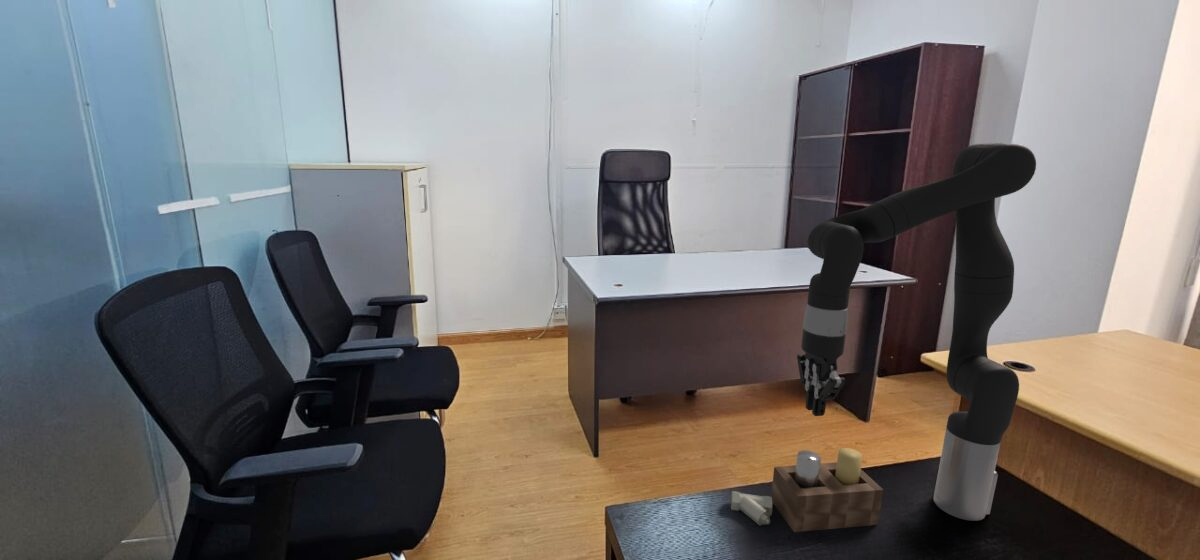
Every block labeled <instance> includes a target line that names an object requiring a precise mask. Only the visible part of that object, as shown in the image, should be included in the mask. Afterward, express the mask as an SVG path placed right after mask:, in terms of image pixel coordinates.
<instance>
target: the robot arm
mask: <svg viewBox="0 0 1200 560" xmlns="http://www.w3.org/2000/svg"><path fill="white" fill-rule="evenodd" d="M1036 169H1037V160H1036V156H1035V154H1034V153H1033V151H1032V149H1030V148H1028V146H1025V145H1024V144H1020V143H1015V142H995V143H992V142H990V143H989V142H988V143H975V144H971V145H968V146H966V147H965V148H963V149H962V150H961V151H960V153H959V154H958V155H957V157H956V159H955V161H954V164H953V168H952V175H951V176H949V177H946V178H943V179H940V180H937V181H934V182H930V183H926V184H922V185H919V186H915V187H911V188H908V189H905V190H902V191H899V192H896V193H894V194H891V195H889V196H887V197H884V198H883V199H880V200H878V201H875V202H874V203H872V204H870V205H868V206H866V207H864V208H862V209H858V210H855V211H850V212H847V213H844V214H840V215H837V216H835V217H831V218H829V219H825V220H824V221H822V222H820V223H818V224H817V225H816V226H815V227H814V228H813V229H811V231H810V232H809V234H808V237H807V247H808V249H809V251H810V253H812V254H813V255H814V256H816V257H817V258H819V259H821V260H823V261H822V265H821V268H820V272H819V273H815V274H813V275H812V276H811V278H810V281H809V286H808V293H807V302H806V307H805V311H804V318H803V327H802V328H803V329H802V334H801V335H802V336H801V344H800V345H801V346H800V348H801V350H802V352H804V354H797V356H796V359H797V366H798V372H799V379H800V383H801V385H804V389H805V391H806V398H805V405H804V406H805V409H806V410H808V411H812V412H811V413H812V415H813V416H814V417H822V416H824V415H825V413H826V406H827V401H828V400H836V398H837V396H838V394H840V392H841V389H843V386H845V384H846V379H845V378H844V377H843V376H841V377H840V376H839V374H838V372H837V371H838V363H837V361H838V359H839V358H840V357H842V356H843V354H844V352H845V343H846V337H847V327H848V320H849V318H848V308H849V301H850V300H849V299H850V292H851V291H850V290H851V287H852V283H853V281H854V279H855V277H856V274H857V272H858V269H859V267H860V264H861V262H862V260H863V259H862V258H863V254H864V248H865V245H864V244H867V243H873V244H874V243H875V244H876V243H882V242H884V241H887V240H890V239H892V238H894V237H896V236H899V235H901V234H903V233H905V232H907V231H911V229H914V228H916V227H919V226H921V225H923V224H925V223H928V222H929V221H932V220H935V219H937V218H939V217H942V216H945V215H948V214H950V213H953V212H954V213H955V265H954V281H953V282H954V283H953V286H954V287H953V291H954V292H953V293H954V297H953V299H954V300H953V314H952V318H953V319H952V330H951V331H952V333H951V337H950V338H951V339H950V344H949V350H948V351H949V352H948V357H947V364H946V373H945V375H946V381H947V384H948V386H949V387H950V389H951V390H952V391H953V392H954V393H956V394H957V395H959V396H960V397H963V398H964V399H966V400H968V401H969V402H970V403H969V406H968V410H967V411H961V410H960V411H954V412H952V413H950V414H949V415H948V417H947V423H946V426H945V431H944V438H943V444H942V449H941V454H940V460H939V467H938V472H937V477H936V483H935V487H934V493H933V498H932V499H933V502H934V503H935V505H936V506H937V508H939V509H940V510H941V511H943V512H944V513H946V514H948V515H949V516H952V517H955V518H957V519H960V520H963V521H964V520H965V521H972V522H973V521H974V522H975V521H976V522H977V521H982V520H983V519H985V518H986V516H988V515H990V514H991V509H992V504H993V499H994V497H995V496H994V495H995V492H996V491H995V490H996V488H997V487H996V486H997V482H998V477H999V475H998V472H997V471H996V467H997V461H998V457H999V452H1000V447H1001V441H1002V439H1003V435H1004V434H1005V433H1006V431H1008V428H1009V426H1010V425H1011V420H1012V417H1013V414H1014V410H1015V406H1016V403H1017V400H1018V396H1019V393H1020V392H1019V391H1020V382H1019V381H1020V380H1019V376H1018V374H1017V373H1016V371H1014V370H1013V369H1011V368H1009V367H1008V366H1005V365H1003V364H1001V363H1000V362H999V363H998V362H996V361H995V360H993V359H990V358H989V357H988V349H987V348H988V337H989V333H990V331H991V328H992V326H993V325H994V323H995V322H996V321H997V320H998V319H999V317H1000V316H1002V315H1003V313H1004V311H1005V310H1006V309H1007V308H1008V306H1009V304H1010V303H1011V300H1012V298H1013V294H1014V281H1015V279H1014V278H1015V264H1014V263H1015V262H1014V258H1013V256H1012V252H1011V250H1010V248H1009V246H1008V243H1007V242H1006V240H1005V238H1004V236H1003V233H1002V231H1001V229H1000V228H999V224H998V222H997V218H996V212H995V211H996V207H995V206H996V203H995V202H996V199H998V198H1000V197H1004V196H1009V195H1012V194H1014V193H1016V192H1018V191H1020V190H1022V189H1024V188H1025V186H1026V185H1028V184H1029V183H1030V182H1031V180H1032V179H1033V177H1034V175H1035V173H1036ZM822 388H823V389H822ZM821 389H822V390H821Z"/></svg>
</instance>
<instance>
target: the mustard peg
mask: <svg viewBox="0 0 1200 560" xmlns="http://www.w3.org/2000/svg"><path fill="white" fill-rule="evenodd" d="M836 461H837V466H836V474H835V478H836V479H837V480H838V481H839V482H840V483H841V484H842V485H852V484H858V483H859V476H860V469H861V468H862V462H863V454H862V453H861V452H860V451H858V450H856V449H854V448H850V447H842V448H839V449H838V452H837V460H836ZM861 470H862V469H861Z"/></svg>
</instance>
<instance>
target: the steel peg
mask: <svg viewBox="0 0 1200 560" xmlns="http://www.w3.org/2000/svg"><path fill="white" fill-rule="evenodd" d="M821 461H822V458H821V456H820V455H819V454H818V453H816V452H814V451H810V450H800V451H799V452H797V456H796V464H795V465H796V472H795V482H796V483H797V484H798V486H799V487H800V488H813V487H818V479H819V471H820V464H822V463H821Z"/></svg>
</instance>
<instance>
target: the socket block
mask: <svg viewBox="0 0 1200 560" xmlns="http://www.w3.org/2000/svg"><path fill="white" fill-rule="evenodd" d="M836 466H837V462H836V461H835V462H823V463H820V471H819V479H818V487H813V488H800V487H799V486H798V484H797V483H796V482H795V472H796V464H795V465H794V464H793V465H779V466H774V468H773V474H772V475H773V477H772V484H771V495H770V497H772V505H773V506H774V507H775V508H776V509H777V511H778V512H779V513H780V515H781V516H782V517H783V519H784V520H785V522H786V523H787V524H788V526H789V527H790V529H791V530H792V531H793V533H801V532H802V533H803V532H811V531H821V530H822V531H823V530H834V529H846V528H855V527H856V528H857V527H867V526H876V525H877V526H878V525H879V519H880V513H881V506H882V500H883V495H884V494H883V493H884V489H883V488H882V487H881V486H880V485H879V484H878V483H877V482H876V481H875V480H873V479H872V478H871V477H870V476H869V475H868V474H867V473H866V472H865V471H864V470H863V469H860V476H859V483H858V484H852V485H842V484H841V483H840V482H839V481H838V480H837V479H836V478H835V474H836Z"/></svg>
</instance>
